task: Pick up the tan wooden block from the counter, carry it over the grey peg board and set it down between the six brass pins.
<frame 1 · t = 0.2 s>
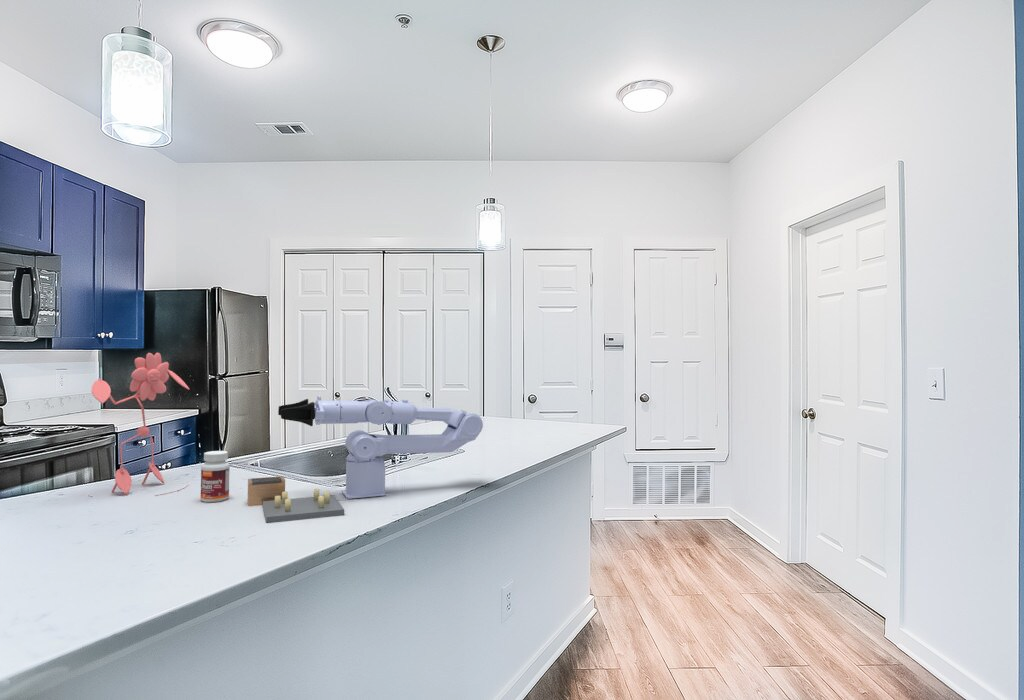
hand: (279, 412, 143), 21 cm above the counter, tool horizontal, fingers open, 7 cm apart
pill bottle: (214, 500, 144), on the counter
figurine: (149, 490, 152), on the counter
tan wooden block: (266, 502, 142), on the counter
grey peg board: (302, 510, 135), on the counter
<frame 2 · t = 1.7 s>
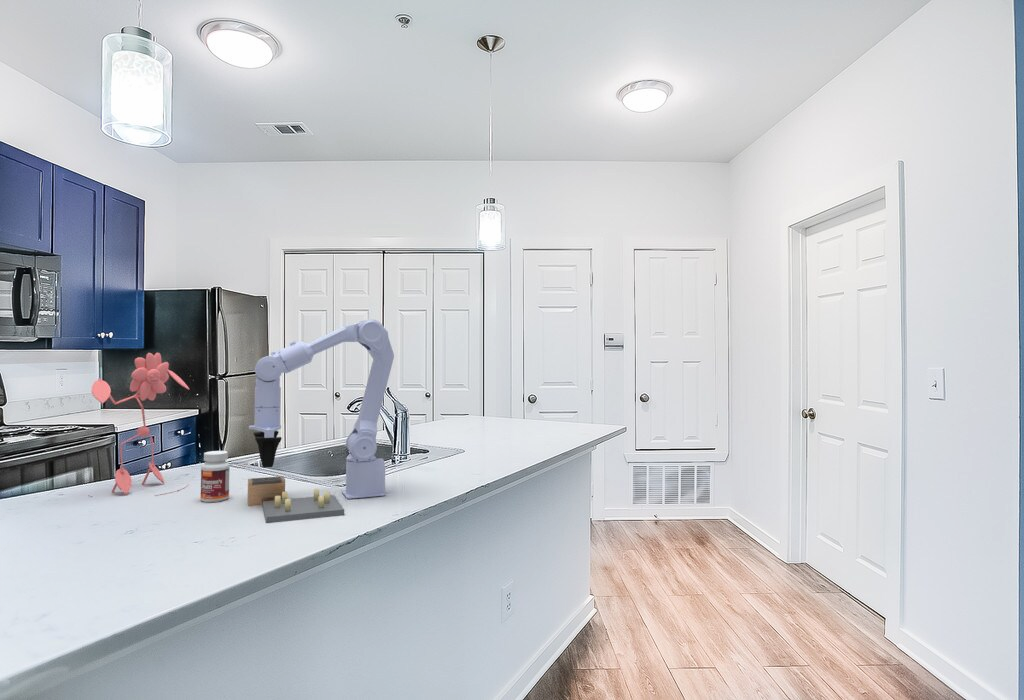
hand: (266, 464, 142), 9 cm above the counter, tool pointing down, fingers open, 7 cm apart
nothing on the counter moved.
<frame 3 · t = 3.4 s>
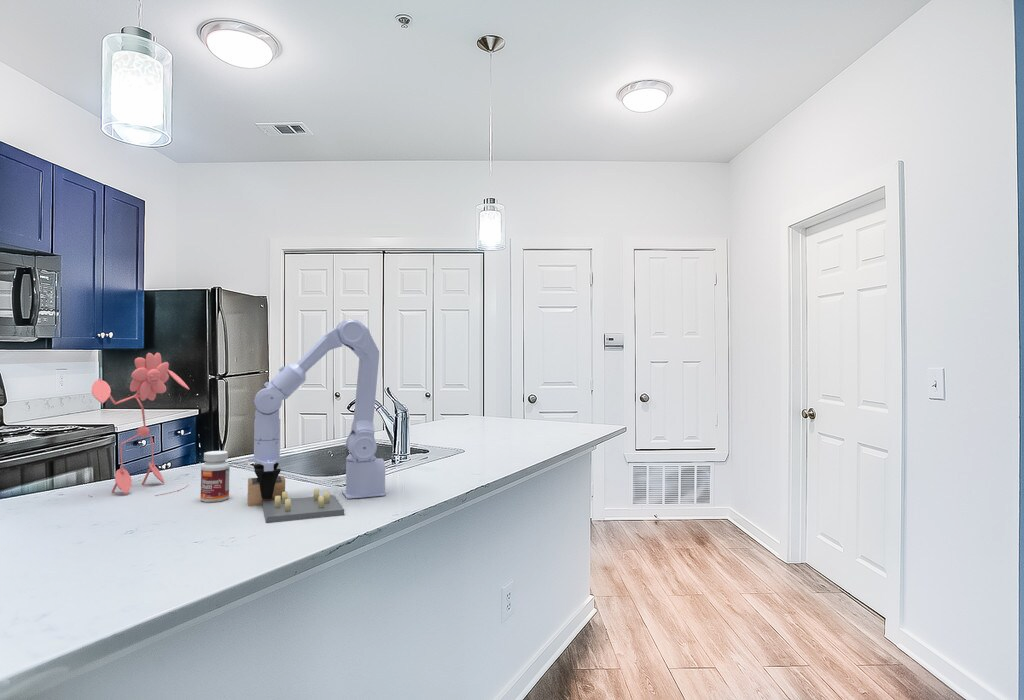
hand: (266, 496, 142), 1 cm above the counter, tool pointing down, fingers closed on tan wooden block, 4 cm apart
tan wooden block: (266, 502, 142), on the counter, touching gripper
everything else where it was.
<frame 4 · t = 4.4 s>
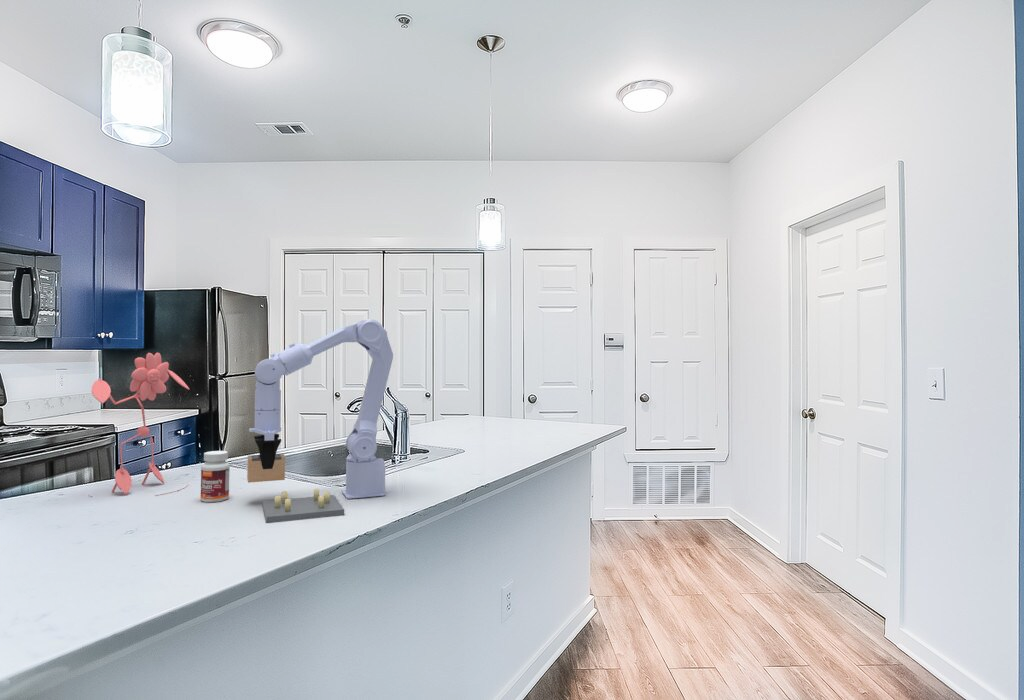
hand: (266, 466, 142), 8 cm above the counter, tool pointing down, fingers closed on tan wooden block, 4 cm apart
tan wooden block: (265, 479, 142), point 5 cm above the counter, touching gripper
everything else where it was.
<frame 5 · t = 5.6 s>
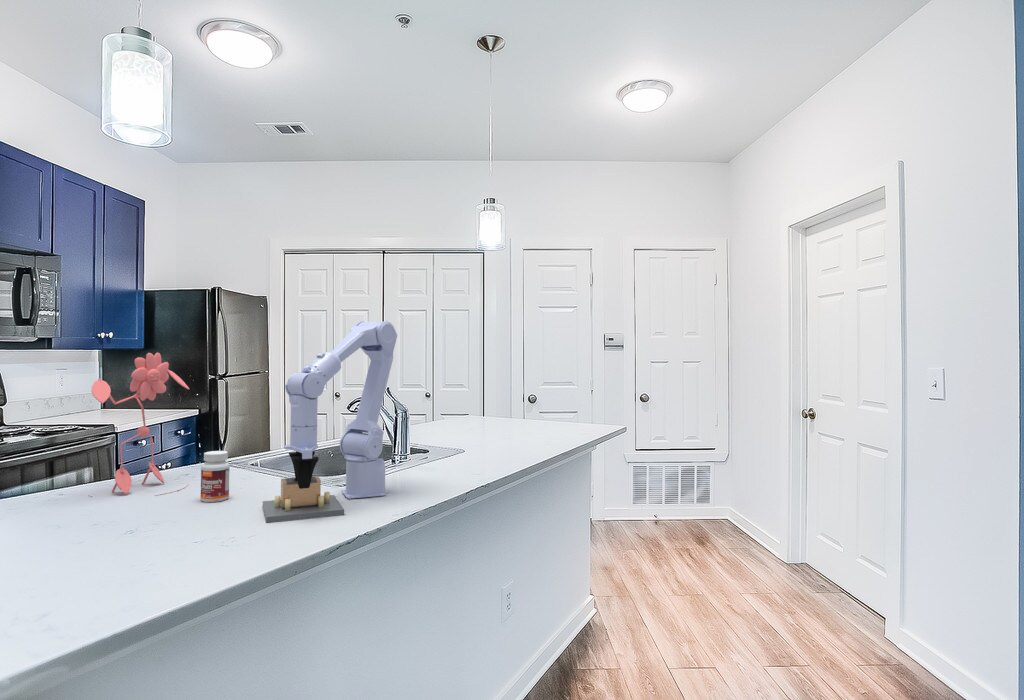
hand: (302, 485, 135), 6 cm above the counter, tool pointing down, fingers closed on tan wooden block, 5 cm apart
tan wooden block: (300, 503, 135), point 2 cm above the counter, touching gripper
everything else where it was.
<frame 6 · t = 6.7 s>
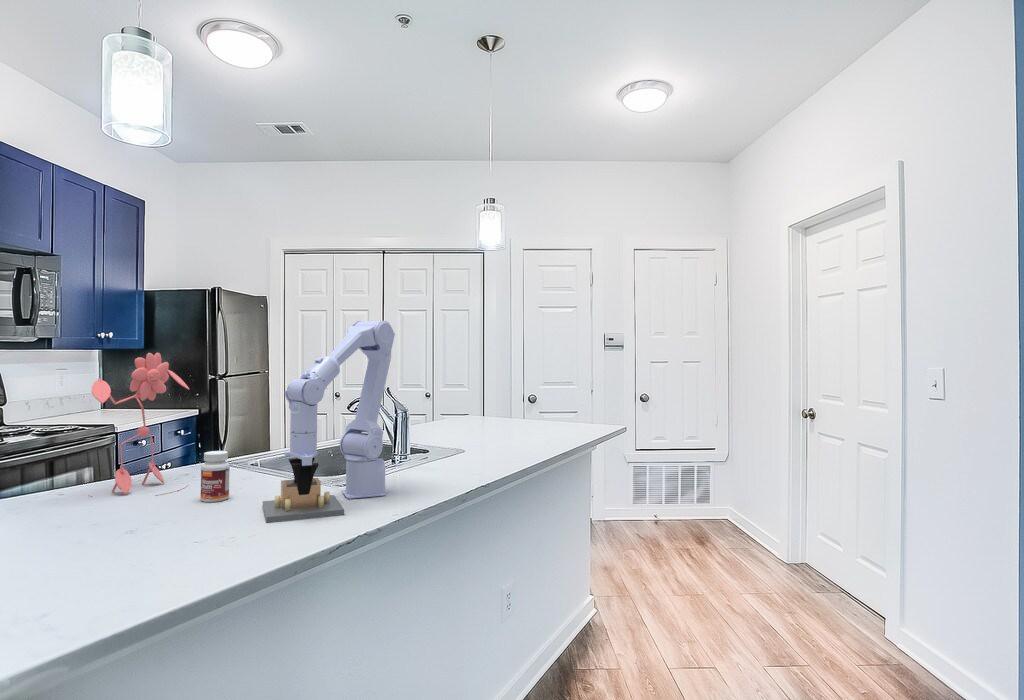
hand: (302, 491, 135), 4 cm above the counter, tool pointing down, fingers closed on tan wooden block, 4 cm apart
tan wooden block: (300, 505, 135), point 1 cm above the counter, touching gripper, grey peg board
everything else where it was.
when the fingers open (4 cm above the counter, at t = 6.7 s): tan wooden block stays where it is, resting on grey peg board.
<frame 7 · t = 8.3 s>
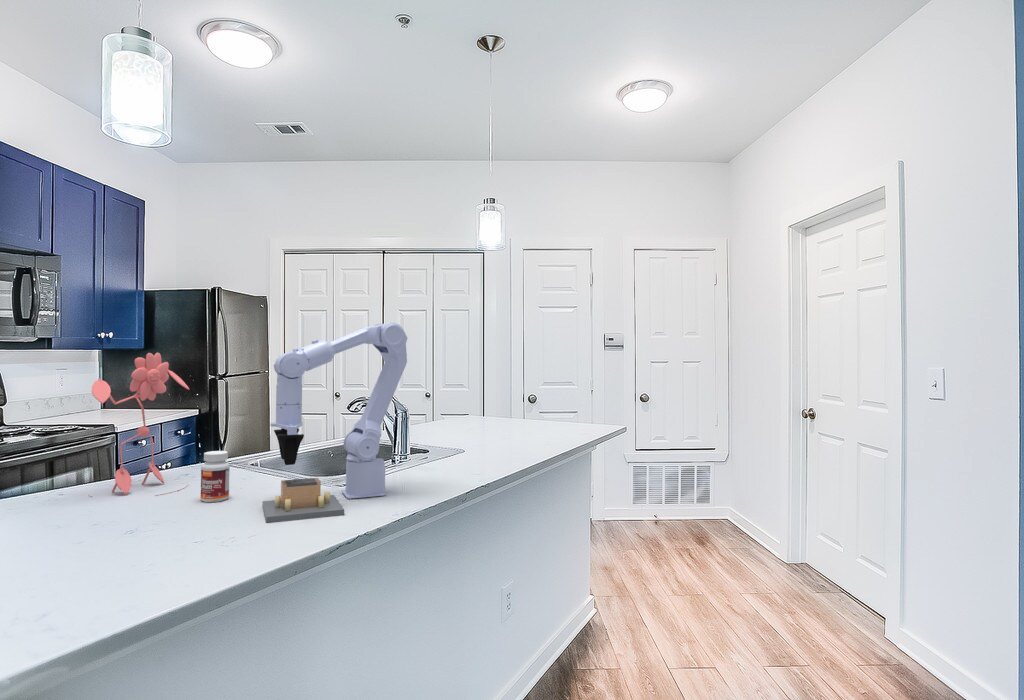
hand: (288, 461, 141), 10 cm above the counter, tool pointing down, fingers open, 7 cm apart
tan wooden block: (300, 505, 135), point 1 cm above the counter, touching grey peg board
everything else where it was.
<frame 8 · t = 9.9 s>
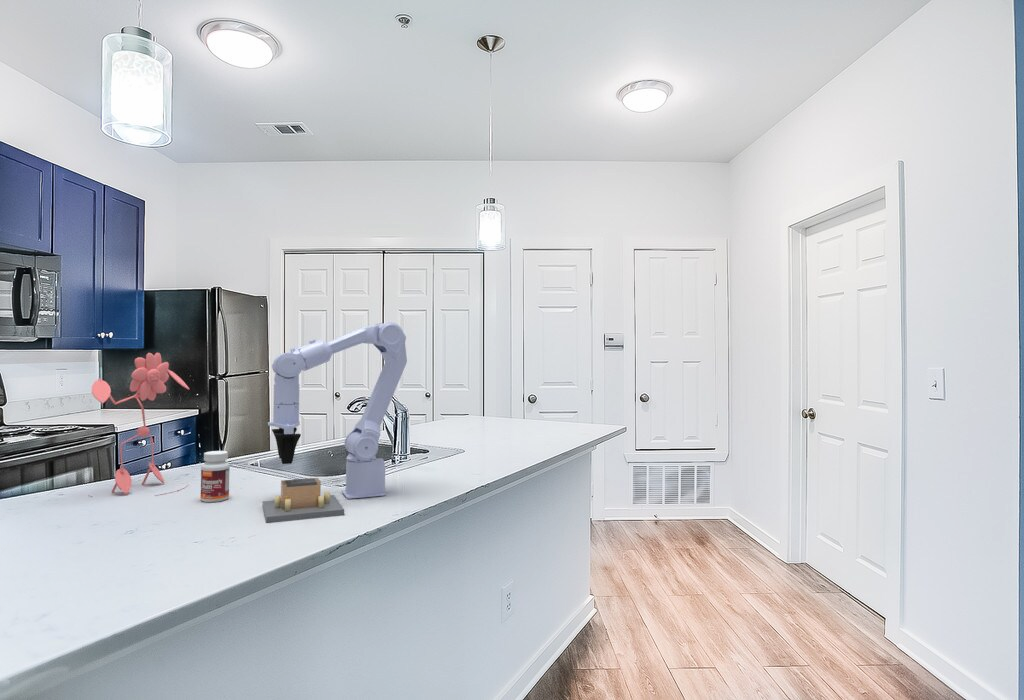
hand: (285, 460, 142), 10 cm above the counter, tool pointing down, fingers open, 7 cm apart
nothing on the counter moved.
at the end: tan wooden block 0.5 cm off-centre on the grey peg board, point 1.2 cm above the grey peg board's base; tan wooden block tilted 0°; the gripper is holding nothing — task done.
